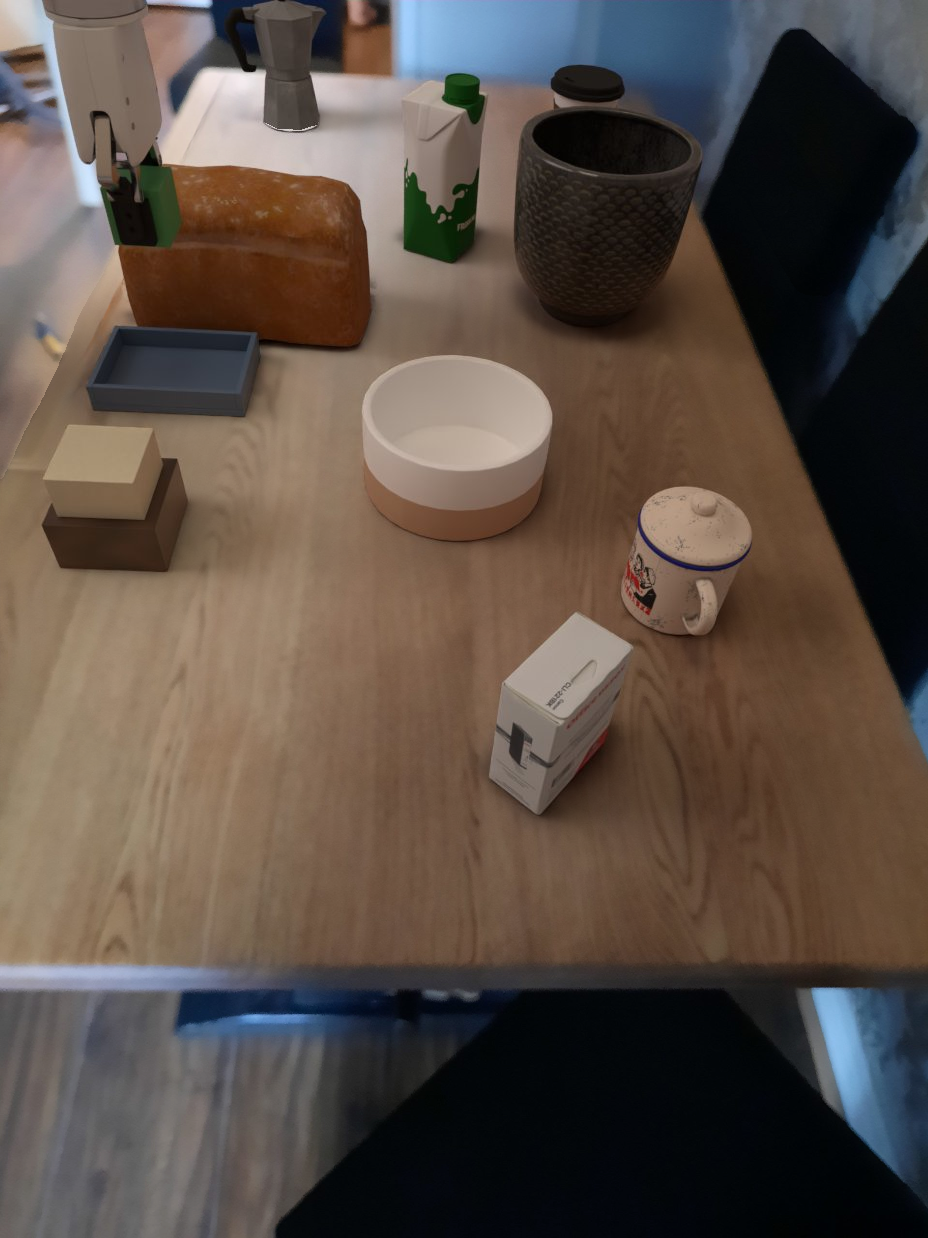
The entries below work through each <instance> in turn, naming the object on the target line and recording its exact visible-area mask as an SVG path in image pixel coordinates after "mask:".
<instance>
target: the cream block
mask: <svg viewBox="0 0 928 1238" xmlns="http://www.w3.org/2000/svg"><path fill="white" fill-rule="evenodd" d="M162 458H163V457H162V455H161V452H160V448H159V443H158V440H157V437H156V432H155V429H154V428H153V427H139V426H138V427H137V426H135V427H134V426H117V425H116V426H115V425H114V426H113V425H93V424H70V423H69V424H67V427H66V429H65V431H64V432H63V435H62V437H61V439H60V441H59V443H58V445H57V448H56V450H55V452H54V454H53V456H52V458H51V460H50V462H49V464H48V466H47V469H46V470H45V473H44V475H43V477H42V482H43V484H44V487H45V489H46V492H47V494H48V496H49V499H50V501H51V503H52V504H53V506H54V509H55V511H56V514H57V516H58V517H80V518H105V519H131V520H145V517H146V514H147V511H148V508H149V505H150V502H151V499H152V497H153V494H154V491H155V488H156V485H157V482H158V479H159V476H160V473H161V470H162V467H163V462H162Z"/></svg>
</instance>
